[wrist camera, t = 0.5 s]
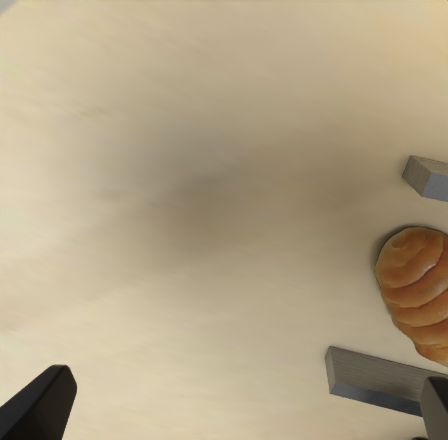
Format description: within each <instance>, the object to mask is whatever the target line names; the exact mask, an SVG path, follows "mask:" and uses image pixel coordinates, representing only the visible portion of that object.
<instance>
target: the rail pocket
mask: <svg viewBox="0 0 448 440" xmlns="http://www.w3.org/2000/svg"><path fill="white" fill-rule="evenodd" d="M402 177H403V178H404V179H405V180H406V181H407V182H408V183H409V184H410V185H411V186H412V187H413V188H414V189H415V190H416V192H417V193H418V194H419V195H420V196H422V197H427V198H432V199H436V200H441V201H446V202H448V163H444V162H439V161H434V160H429V159H425V158H420V157H415V156H411V157H410V159H409V161H408V164H407V166H406V169H405V171H404V173H403V176H402ZM325 362H326V369H327V377H328V384H329V392H330V394H333V395H337V396H341V397H345V398H349V399H353V400H357V401H361V402H365V403H369V404H373V405H376V406H380V407H384V408H388V409H392V410H396V411H400V412H404V413H408V414H412V415H416V416H420V417H423V416H422V412H421V408H420V395H421V391H422V388H423V384H424V381H425V378H426V377H428V376H441V377H445V378H447V379H448V375H444V374H440V373H436V372H432V371H428V370H424V369H420V368H416V367H412V366H408V365H404V364H400V363H396V362H392V361H387V360H383V359H379V358H375V357H371V356H367V355H363V354H359V353H355V352H351V351H347V350H343V349H339V348H335V347H331V346H330V348H329V350H328V352H327V355H326V357H325Z"/></svg>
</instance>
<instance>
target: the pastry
mask: <svg viewBox="0 0 448 440" xmlns="http://www.w3.org/2000/svg"><path fill="white" fill-rule="evenodd" d="M374 273H375V275H376V277H377V280H378V282H379V284H380V287H381V295H382V298H383V300H384V301H385V303H386V304H387V306H388V307H389V309H390V311H391V316H392V321H393V323H394V325H395V326H396V327H397V328H398V329H399V330H400V331H402V332H403V333H404V334H405V335H407V336H408V337H409V338H410V339H411V340H412V341H413V343H414V345H415V348H416V350H417V352H418V353H419V354H420V355H422V356H423V357H425V358H427V359H429V360H432V361H435V362H437V363H440V364H442V365H444V366H446V367H448V235H446V234H444V233H442V232H439V231H436V230H431V229H427V228H423V227H411V228H406V229H404V230H403V231H401V232H400V233H398V234H396V235H394V236H393V237H391V238H390V239H389V240H388V241H387V242H386V244H385V245H384V247H383V248H382V250H381V252H380V255H379V258H378V261H377V263H376V266H375V269H374Z"/></svg>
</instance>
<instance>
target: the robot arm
mask: <svg viewBox="0 0 448 440" xmlns="http://www.w3.org/2000/svg"><path fill="white" fill-rule="evenodd" d="M76 393H77V384H76V381H75V379H74V377H73V374H72V372H71V370H70V368H69V367H68V366H67V365H52V366H50V367H49V368H47V369H46V370H45V371H44V372H42V373H41V374H40V375H39V376H38V377H36V378H35V379H34V380H33V381H31V382H30V383H29V384H28V385H27V386H25V387H24V388H23V389H22V390H21V391H19V392H18V393H17V394H16V395H14V396H13V397H12V398H11V399H10V400H8V401H7V402H6V403H5V404H4V405H2V406H1V407H0V440H62V437H63V434H64V431H65V428H66V425H67V422H68V418H69V415H70V412H71V409H72V406H73V403H74V399H75V396H76ZM420 408H421V412H422V416H423V419H424V423H425V427H426V431H427V434H428V438H429V440H448V379H447V378H445V377H441V376H428V377H426V378H425V381H424V384H423V388H422V391H421V395H420ZM417 440H420V439H417Z"/></svg>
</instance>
